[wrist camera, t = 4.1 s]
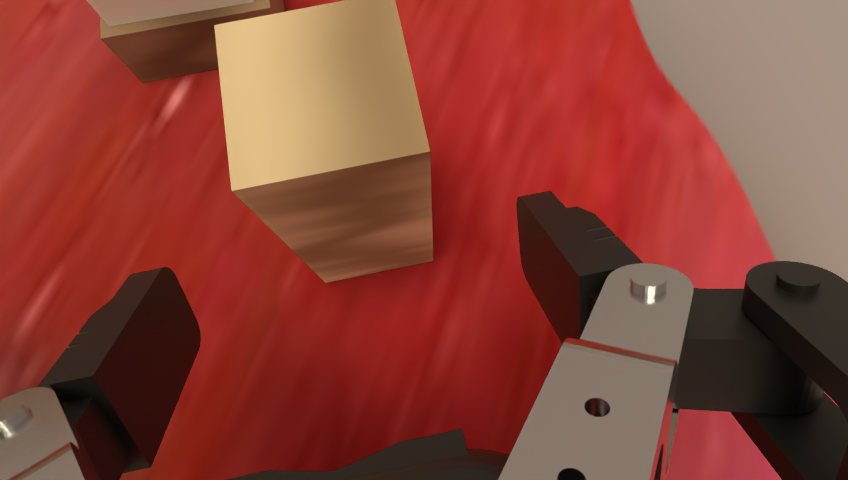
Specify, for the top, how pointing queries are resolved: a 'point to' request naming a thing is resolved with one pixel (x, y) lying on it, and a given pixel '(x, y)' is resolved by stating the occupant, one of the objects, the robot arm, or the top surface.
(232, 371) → the top surface
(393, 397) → the top surface
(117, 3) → the slab top
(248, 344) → the top surface
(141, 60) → the slab base
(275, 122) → the pillar
